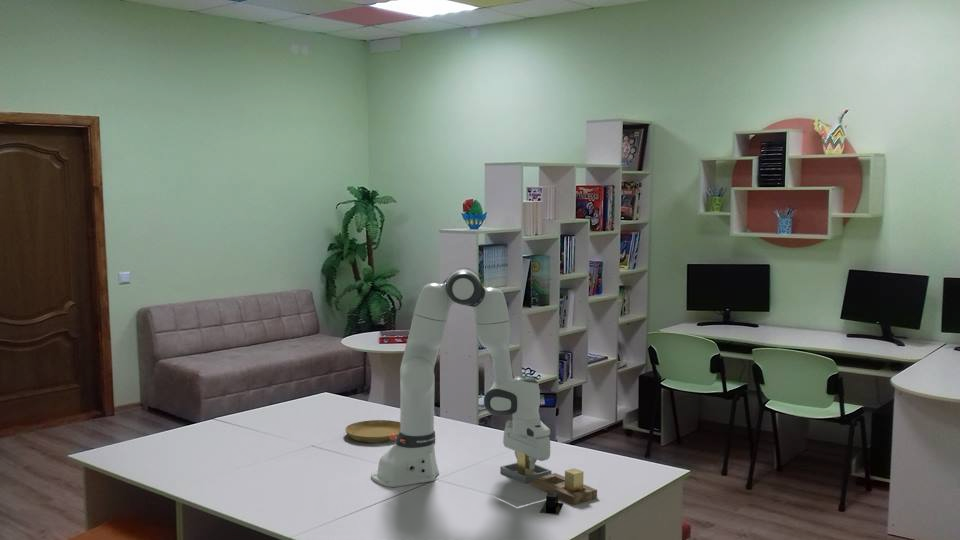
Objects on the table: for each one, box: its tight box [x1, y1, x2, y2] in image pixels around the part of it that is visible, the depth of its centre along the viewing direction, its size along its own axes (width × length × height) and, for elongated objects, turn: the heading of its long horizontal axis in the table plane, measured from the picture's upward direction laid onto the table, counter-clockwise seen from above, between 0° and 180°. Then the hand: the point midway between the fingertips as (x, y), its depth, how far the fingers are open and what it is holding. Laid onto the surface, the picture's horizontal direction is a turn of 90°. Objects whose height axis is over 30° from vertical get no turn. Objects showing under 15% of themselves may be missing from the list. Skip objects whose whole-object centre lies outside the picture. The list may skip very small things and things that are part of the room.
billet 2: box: [564, 468, 584, 493], centre depth 255 cm, size 4×4×8 cm
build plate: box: [539, 492, 564, 516], centre depth 246 cm, size 12×7×5 cm, turn 164°
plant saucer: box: [344, 419, 400, 444], centre depth 319 cm, size 24×24×3 cm
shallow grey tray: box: [499, 462, 552, 485], centre depth 274 cm, size 11×13×2 cm
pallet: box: [531, 472, 598, 506], centre depth 259 cm, size 10×19×2 cm, turn 37°
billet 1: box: [516, 450, 534, 476], centre depth 273 cm, size 4×4×8 cm
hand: (525, 466), depth 273 cm, fingers closed on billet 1, 4 cm apart
